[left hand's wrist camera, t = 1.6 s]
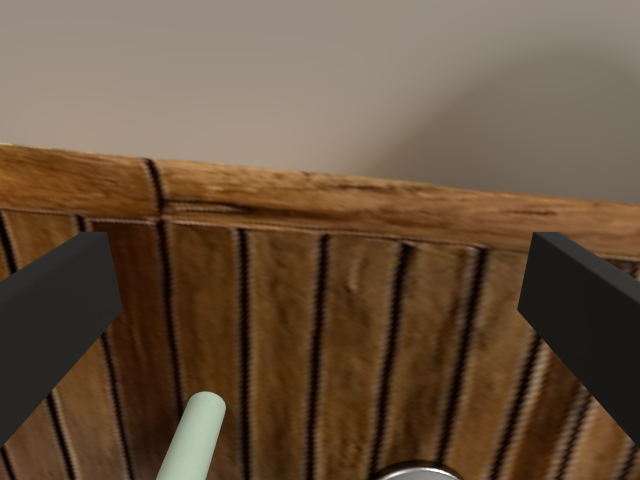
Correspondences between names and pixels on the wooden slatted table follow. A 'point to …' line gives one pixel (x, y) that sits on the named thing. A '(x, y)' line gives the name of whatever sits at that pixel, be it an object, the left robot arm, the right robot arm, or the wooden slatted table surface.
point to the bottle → (194, 439)
